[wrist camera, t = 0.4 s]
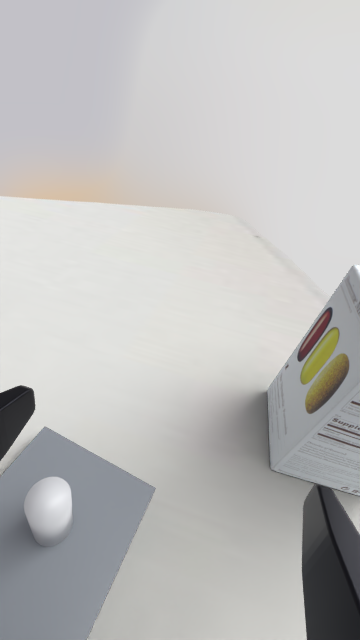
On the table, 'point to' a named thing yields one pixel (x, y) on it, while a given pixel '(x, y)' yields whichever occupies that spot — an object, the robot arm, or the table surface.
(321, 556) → the robot arm
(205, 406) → the table surface
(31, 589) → the pin board
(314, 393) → the supplement box
